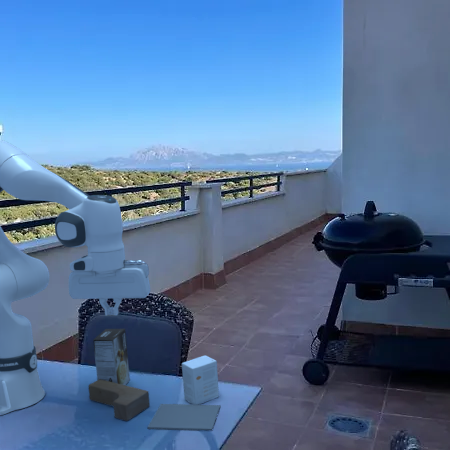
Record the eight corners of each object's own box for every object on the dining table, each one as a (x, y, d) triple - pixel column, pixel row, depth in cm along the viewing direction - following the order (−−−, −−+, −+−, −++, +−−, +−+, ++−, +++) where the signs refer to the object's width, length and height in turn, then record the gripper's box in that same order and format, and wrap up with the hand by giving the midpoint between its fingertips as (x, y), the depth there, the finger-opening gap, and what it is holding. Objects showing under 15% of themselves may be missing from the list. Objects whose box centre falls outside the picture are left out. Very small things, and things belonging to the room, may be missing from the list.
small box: (208, 390, 151) (205, 354, 149) (219, 397, 146) (217, 360, 145) (183, 399, 146) (181, 362, 145) (194, 406, 142) (192, 368, 140)
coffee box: (110, 379, 162) (105, 328, 159) (130, 380, 160) (126, 328, 158) (97, 393, 153) (92, 339, 150) (119, 394, 152) (114, 339, 149)
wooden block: (125, 405, 135) (75, 391, 144) (127, 421, 135) (76, 407, 145) (148, 390, 142) (99, 378, 152) (150, 406, 143) (100, 393, 152)
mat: (147, 429, 131) (147, 427, 131) (160, 405, 143) (160, 403, 143) (212, 430, 129) (212, 428, 129) (220, 406, 141) (220, 405, 141)
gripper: (151, 257, 134) (155, 310, 136) (74, 259, 138) (79, 311, 140) (143, 262, 128) (148, 318, 130) (63, 264, 132) (68, 319, 133)
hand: (111, 314), depth 135 cm, fingers closed
